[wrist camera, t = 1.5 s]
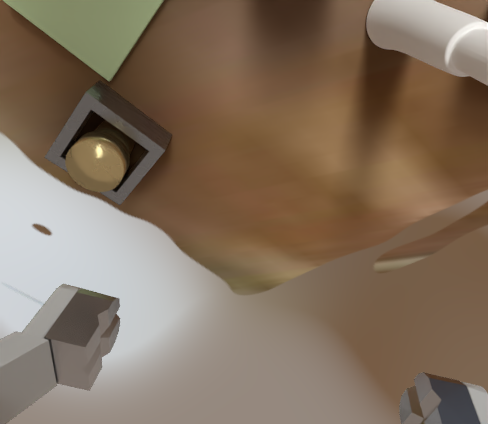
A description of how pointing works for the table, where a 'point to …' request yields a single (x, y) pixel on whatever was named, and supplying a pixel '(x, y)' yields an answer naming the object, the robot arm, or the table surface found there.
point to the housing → (123, 119)
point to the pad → (92, 27)
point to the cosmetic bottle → (432, 35)
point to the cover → (100, 158)
